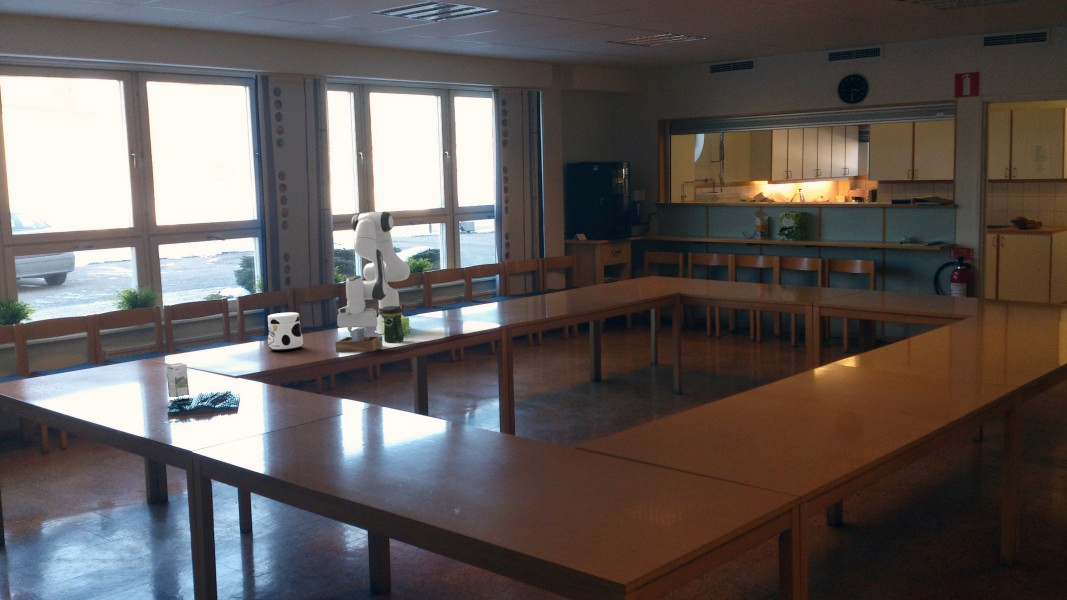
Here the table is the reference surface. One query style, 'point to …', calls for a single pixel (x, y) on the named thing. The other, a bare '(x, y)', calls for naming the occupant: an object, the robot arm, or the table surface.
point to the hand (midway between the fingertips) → (358, 336)
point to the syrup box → (177, 380)
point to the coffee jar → (392, 324)
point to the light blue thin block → (358, 334)
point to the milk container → (284, 332)
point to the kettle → (404, 325)
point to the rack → (359, 344)
